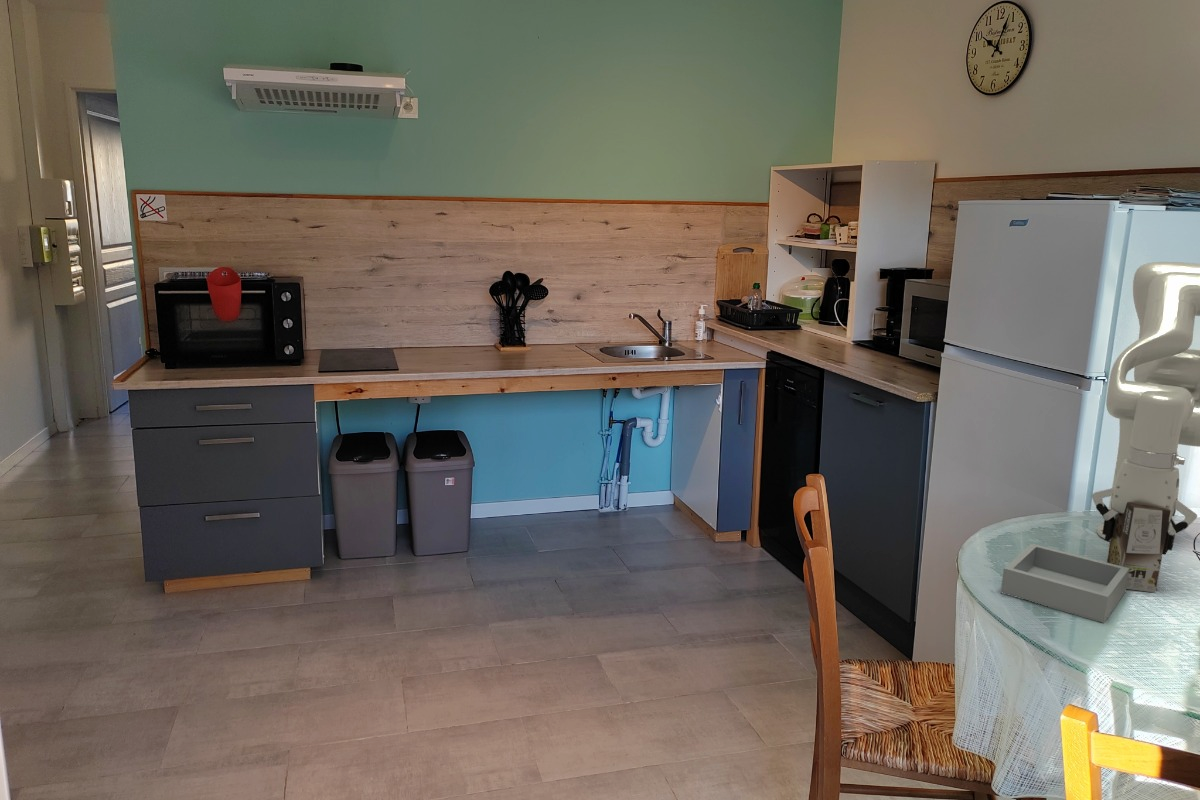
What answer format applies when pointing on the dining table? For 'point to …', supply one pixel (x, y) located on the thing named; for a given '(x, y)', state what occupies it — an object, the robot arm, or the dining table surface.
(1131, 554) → the coffee box
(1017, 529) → the dining table surface
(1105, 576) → the grey bin
